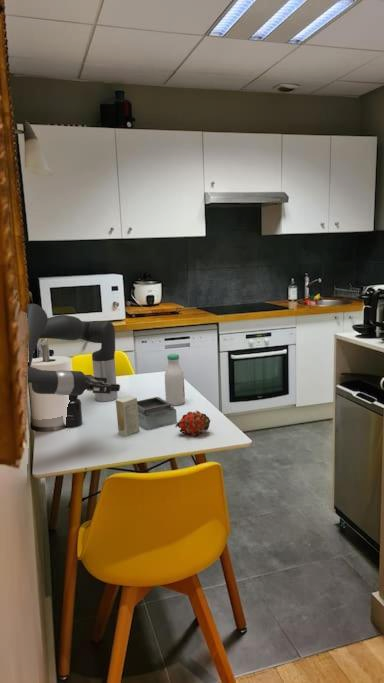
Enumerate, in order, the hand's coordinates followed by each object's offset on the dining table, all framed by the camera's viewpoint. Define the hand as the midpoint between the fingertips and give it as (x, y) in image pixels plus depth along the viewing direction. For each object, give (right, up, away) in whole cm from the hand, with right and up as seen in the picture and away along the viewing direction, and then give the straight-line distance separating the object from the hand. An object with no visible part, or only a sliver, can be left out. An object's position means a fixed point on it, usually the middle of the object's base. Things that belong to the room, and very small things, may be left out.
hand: (112, 384), depth 164 cm
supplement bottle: (-17, -16, +19) cm, 30 cm away
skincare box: (+4, -18, +8) cm, 20 cm away
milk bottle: (+19, -11, +38) cm, 44 cm away
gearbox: (+11, -15, +20) cm, 27 cm away
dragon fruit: (+27, -17, +5) cm, 32 cm away
